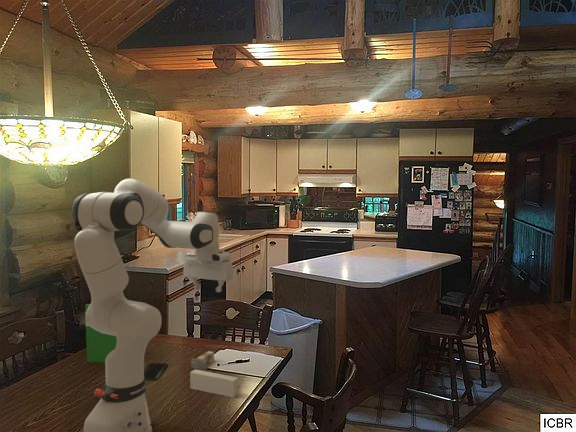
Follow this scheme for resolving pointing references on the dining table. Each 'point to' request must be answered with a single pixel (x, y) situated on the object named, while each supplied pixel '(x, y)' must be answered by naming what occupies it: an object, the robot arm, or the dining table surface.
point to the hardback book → (98, 343)
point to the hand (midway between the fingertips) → (207, 290)
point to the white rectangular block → (214, 383)
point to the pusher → (203, 361)
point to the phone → (154, 371)
